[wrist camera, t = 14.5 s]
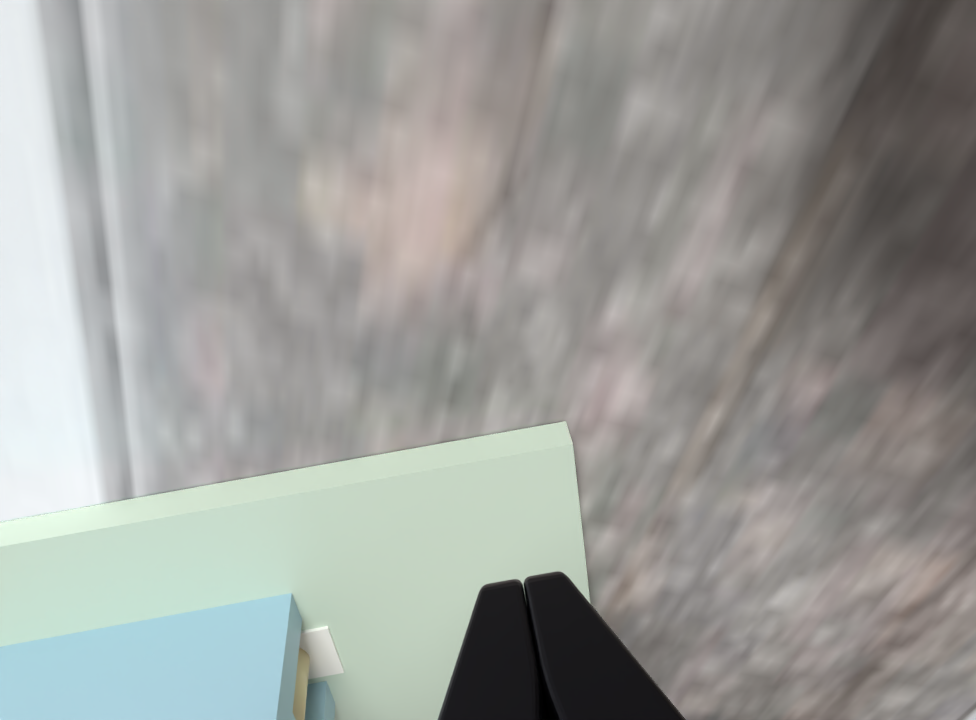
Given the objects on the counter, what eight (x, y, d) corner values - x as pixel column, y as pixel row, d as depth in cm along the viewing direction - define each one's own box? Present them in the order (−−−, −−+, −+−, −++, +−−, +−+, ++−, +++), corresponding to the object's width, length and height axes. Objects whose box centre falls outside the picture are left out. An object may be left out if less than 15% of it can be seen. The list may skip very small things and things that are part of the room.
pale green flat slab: (565, 421, 22) (593, 509, 19) (597, 697, 29) (621, 796, 26) (-181, 554, 22) (-268, 665, 19) (20, 804, 28) (-23, 915, 25)
